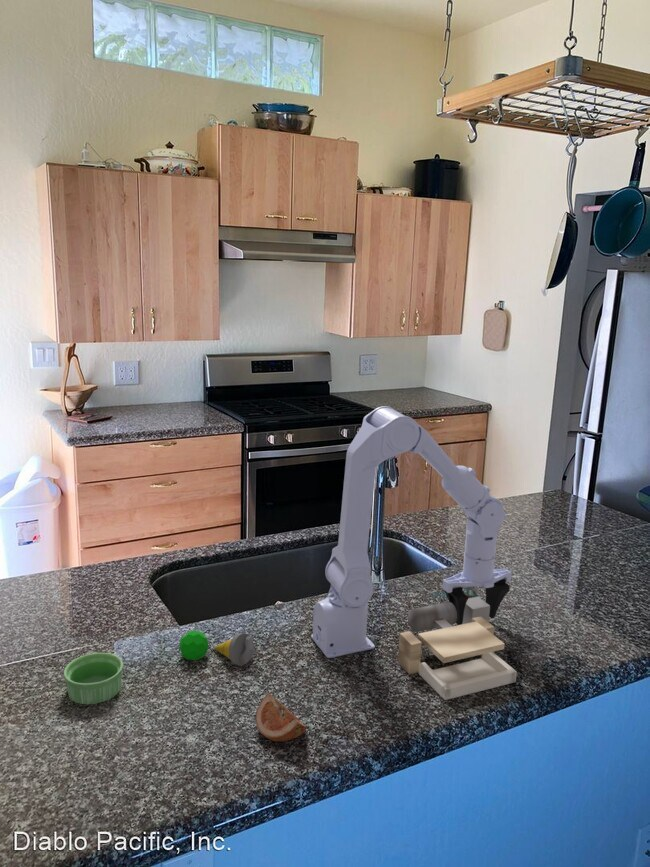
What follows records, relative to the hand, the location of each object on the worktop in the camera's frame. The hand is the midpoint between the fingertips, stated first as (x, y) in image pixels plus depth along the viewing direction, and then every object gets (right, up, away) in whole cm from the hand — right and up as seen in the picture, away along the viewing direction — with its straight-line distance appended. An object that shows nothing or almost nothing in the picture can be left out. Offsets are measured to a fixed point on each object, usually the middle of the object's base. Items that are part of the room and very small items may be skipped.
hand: (473, 619), depth 134 cm
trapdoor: (-7, +2, -13) cm, 15 cm away
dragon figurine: (-5, +2, +12) cm, 13 cm away
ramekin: (-66, -5, -24) cm, 70 cm away
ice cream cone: (-41, -1, -17) cm, 44 cm away
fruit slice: (-35, -9, -33) cm, 49 cm away
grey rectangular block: (0, -1, 0) cm, 2 cm away
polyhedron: (-52, -3, -13) cm, 54 cm away
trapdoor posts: (-8, -4, -12) cm, 15 cm away
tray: (-5, -6, -18) cm, 19 cm away
